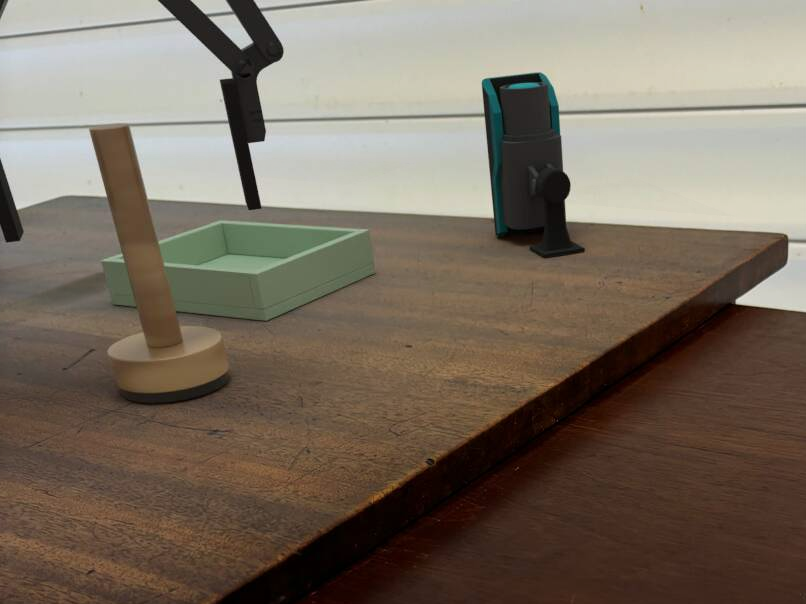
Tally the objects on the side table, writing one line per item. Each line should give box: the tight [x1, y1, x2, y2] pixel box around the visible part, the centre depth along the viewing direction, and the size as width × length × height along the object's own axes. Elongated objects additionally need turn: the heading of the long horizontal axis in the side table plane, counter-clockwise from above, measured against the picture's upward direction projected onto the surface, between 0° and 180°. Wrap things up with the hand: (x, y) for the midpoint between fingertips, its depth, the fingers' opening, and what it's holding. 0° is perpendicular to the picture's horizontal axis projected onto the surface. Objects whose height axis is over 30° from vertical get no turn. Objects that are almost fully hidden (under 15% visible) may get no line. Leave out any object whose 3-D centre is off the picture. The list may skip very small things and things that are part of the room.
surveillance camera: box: [481, 71, 586, 259], centre depth 96 cm, size 6×12×10 cm
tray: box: [100, 219, 376, 322], centre depth 92 cm, size 16×14×3 cm
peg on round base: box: [88, 122, 230, 404], centre depth 70 cm, size 7×7×15 cm
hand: (136, 222), depth 68 cm, fingers open, 13 cm apart
